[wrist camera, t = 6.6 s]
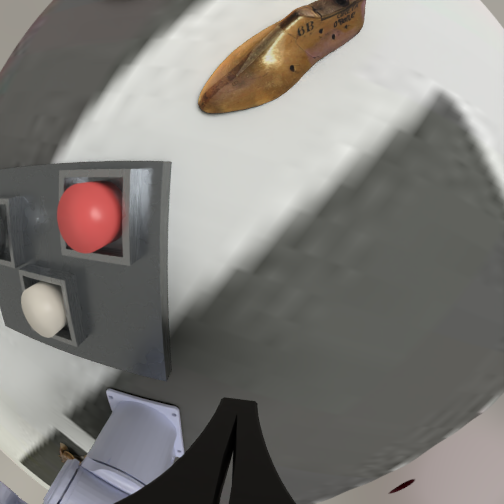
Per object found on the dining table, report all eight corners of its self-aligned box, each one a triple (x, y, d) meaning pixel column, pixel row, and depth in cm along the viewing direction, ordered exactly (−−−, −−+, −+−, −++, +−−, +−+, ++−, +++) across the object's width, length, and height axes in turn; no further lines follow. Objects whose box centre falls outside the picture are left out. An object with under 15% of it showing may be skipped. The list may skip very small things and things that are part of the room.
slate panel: (171, 370, 23) (160, 392, 20) (13, 320, 24) (-3, 331, 21) (171, 161, 18) (153, 160, 15) (-6, 170, 19) (-26, 173, 16)
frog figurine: (44, 427, 31) (33, 440, 27) (102, 455, 30) (93, 472, 27) (64, 460, 34) (56, 473, 30) (116, 484, 34) (110, 499, 30)
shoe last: (188, 90, 17) (163, 69, 12) (343, 0, 14) (357, -33, 9) (224, 135, 18) (209, 126, 13) (381, 41, 15) (405, 14, 10)
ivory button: (77, 329, 21) (61, 343, 18) (43, 317, 21) (27, 330, 18) (69, 282, 19) (50, 294, 17) (35, 274, 20) (16, 284, 17)
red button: (128, 246, 18) (110, 257, 16) (79, 240, 18) (59, 249, 16) (129, 181, 17) (109, 183, 15) (78, 180, 17) (56, 183, 15)
